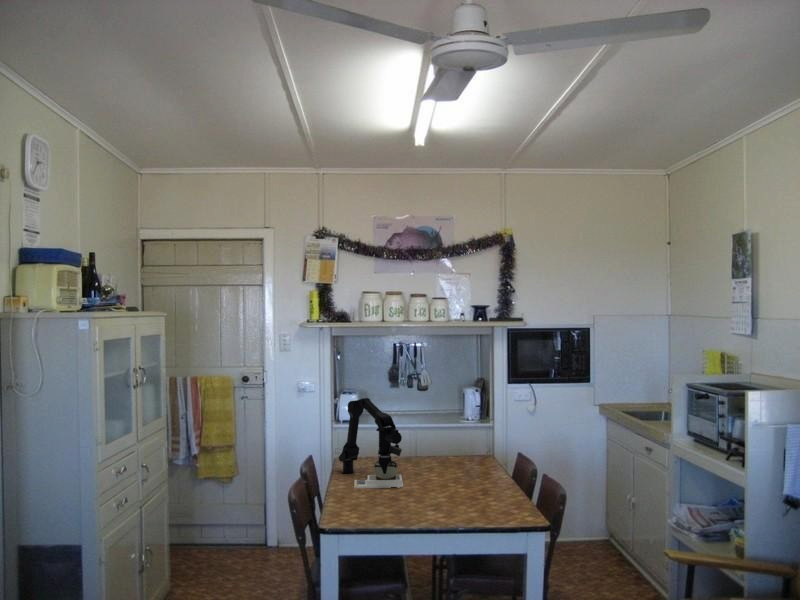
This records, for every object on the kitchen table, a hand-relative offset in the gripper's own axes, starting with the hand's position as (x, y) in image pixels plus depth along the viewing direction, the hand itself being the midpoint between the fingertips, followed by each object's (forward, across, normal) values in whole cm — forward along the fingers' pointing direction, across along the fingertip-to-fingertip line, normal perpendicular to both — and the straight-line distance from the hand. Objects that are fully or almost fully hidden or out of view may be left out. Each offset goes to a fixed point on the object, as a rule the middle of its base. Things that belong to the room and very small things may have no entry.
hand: (384, 472), depth 321 cm
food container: (+5, +2, -1) cm, 5 cm away
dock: (+6, 0, +3) cm, 7 cm away
